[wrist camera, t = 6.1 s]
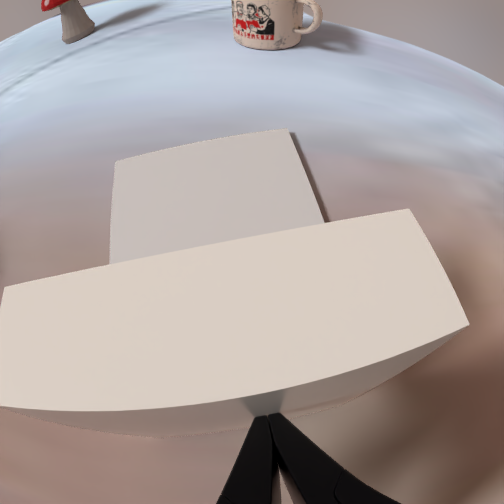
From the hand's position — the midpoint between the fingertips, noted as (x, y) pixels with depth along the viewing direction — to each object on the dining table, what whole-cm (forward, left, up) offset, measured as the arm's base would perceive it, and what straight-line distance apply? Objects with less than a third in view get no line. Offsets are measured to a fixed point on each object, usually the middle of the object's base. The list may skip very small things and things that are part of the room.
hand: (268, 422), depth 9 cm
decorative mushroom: (+64, 0, -7) cm, 64 cm away
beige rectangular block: (+1, +1, -7) cm, 7 cm away
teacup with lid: (+32, -22, -7) cm, 40 cm away
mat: (+11, -3, -7) cm, 13 cm away
